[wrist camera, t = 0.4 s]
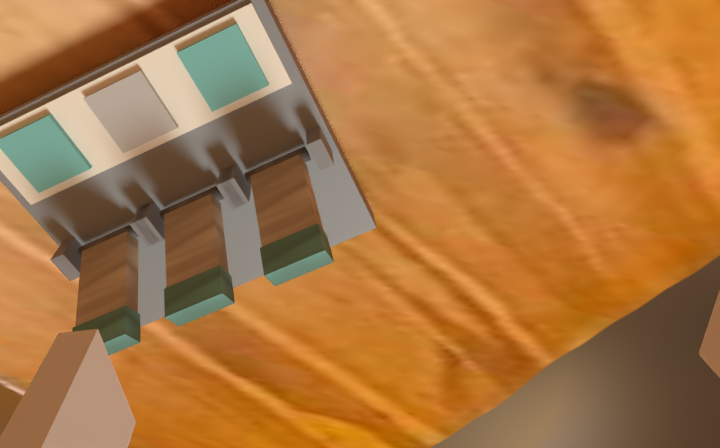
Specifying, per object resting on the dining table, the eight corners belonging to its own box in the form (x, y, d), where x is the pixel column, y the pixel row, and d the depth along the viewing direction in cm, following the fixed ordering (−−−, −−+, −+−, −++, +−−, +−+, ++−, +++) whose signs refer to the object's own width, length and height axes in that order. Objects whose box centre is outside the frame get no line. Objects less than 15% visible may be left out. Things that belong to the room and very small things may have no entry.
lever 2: (157, 206, 37) (160, 319, 32) (214, 180, 37) (226, 291, 32) (170, 217, 39) (174, 328, 33) (225, 192, 38) (239, 301, 33)
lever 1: (76, 242, 38) (66, 358, 33) (131, 218, 38) (129, 332, 32) (91, 252, 39) (82, 366, 34) (144, 228, 39) (144, 340, 33)
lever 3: (242, 168, 37) (259, 277, 31) (301, 141, 36) (329, 247, 31) (252, 180, 38) (270, 288, 32) (310, 154, 37) (338, 259, 32)
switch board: (-23, 125, 36) (-58, 150, 33) (261, -15, 34) (256, -4, 30) (139, 313, 45) (126, 349, 42) (373, 214, 43) (380, 243, 39)
